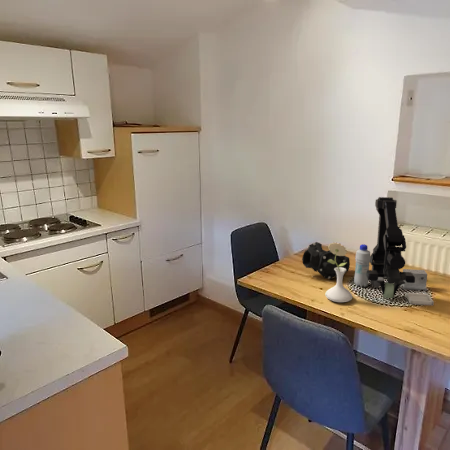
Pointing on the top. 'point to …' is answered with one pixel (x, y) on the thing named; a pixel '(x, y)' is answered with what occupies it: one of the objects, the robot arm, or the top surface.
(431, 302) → the tray
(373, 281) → the grey block
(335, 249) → the flower in vase
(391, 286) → the pale green rounded cylinder
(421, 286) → the block
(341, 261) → the valve
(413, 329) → the top surface
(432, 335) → the top surface
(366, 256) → the bottle
